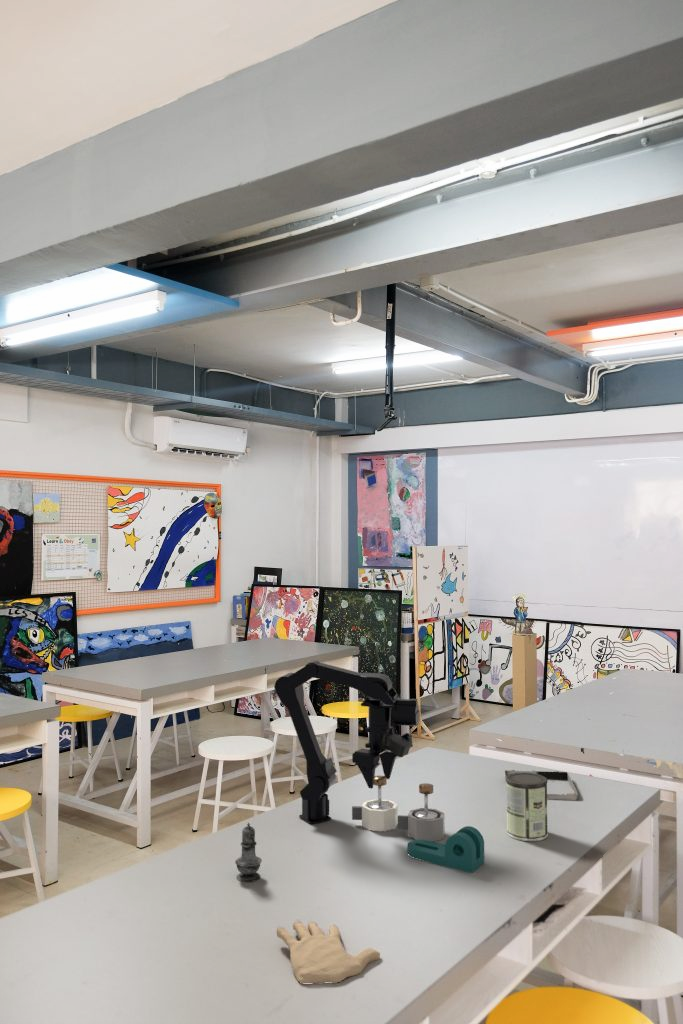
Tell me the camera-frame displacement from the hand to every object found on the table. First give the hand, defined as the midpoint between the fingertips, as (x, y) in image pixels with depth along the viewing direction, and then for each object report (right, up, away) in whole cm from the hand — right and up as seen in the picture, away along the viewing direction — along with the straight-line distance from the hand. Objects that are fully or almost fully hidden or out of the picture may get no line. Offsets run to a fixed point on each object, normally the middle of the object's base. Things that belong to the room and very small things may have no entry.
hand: (379, 783), depth 216 cm
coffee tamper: (+12, -6, -7) cm, 15 cm away
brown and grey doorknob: (0, -6, 0) cm, 6 cm away
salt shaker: (-31, -10, -32) cm, 46 cm away
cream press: (0, -11, 0) cm, 11 cm away
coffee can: (+37, -11, -7) cm, 39 cm away
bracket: (+14, -11, -22) cm, 28 cm away
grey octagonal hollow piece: (+12, -11, -7) cm, 17 cm away
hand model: (-12, -10, -65) cm, 67 cm away
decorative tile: (+49, -12, +30) cm, 59 cm away
